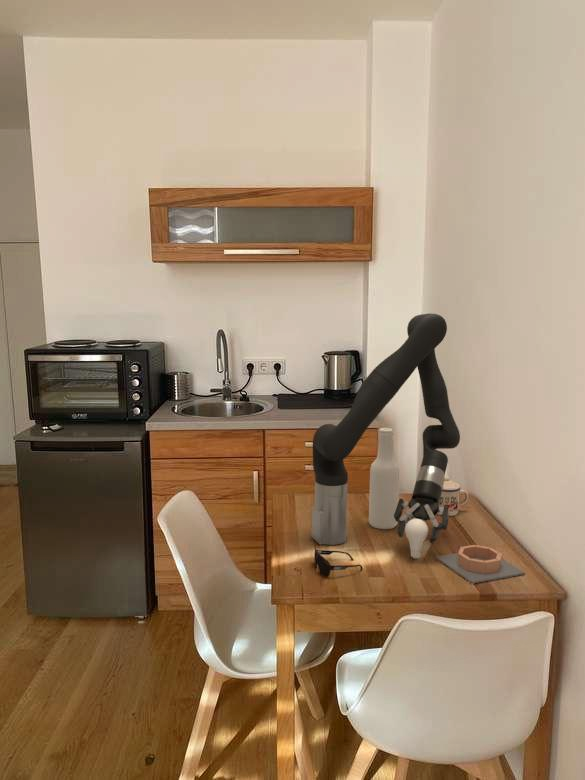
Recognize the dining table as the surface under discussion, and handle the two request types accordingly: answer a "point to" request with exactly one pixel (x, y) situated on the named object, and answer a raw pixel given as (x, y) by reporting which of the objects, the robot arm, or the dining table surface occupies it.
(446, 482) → the teacup with lid
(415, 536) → the lightbulb
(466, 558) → the ring holder
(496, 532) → the dining table surface
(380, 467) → the alcohol
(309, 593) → the dining table surface
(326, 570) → the sunglasses
